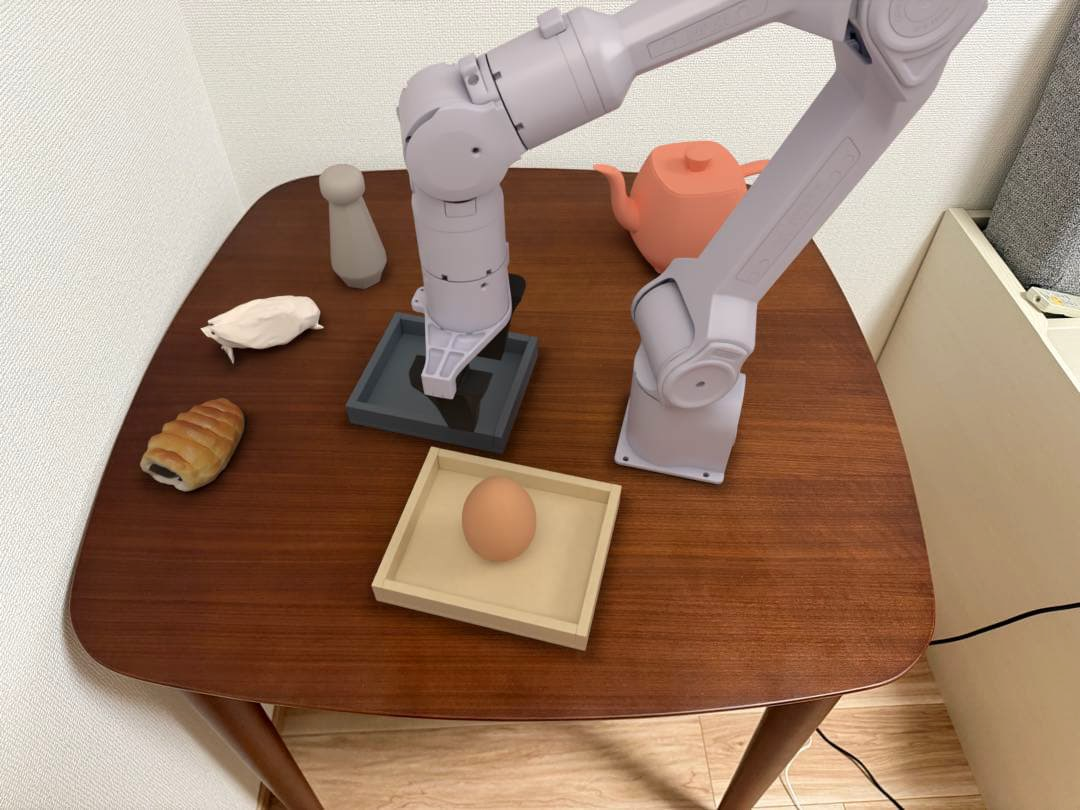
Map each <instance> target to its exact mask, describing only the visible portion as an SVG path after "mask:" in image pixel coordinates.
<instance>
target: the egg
mask: <svg viewBox="0 0 1080 810" xmlns="http://www.w3.org/2000/svg"><path fill="white" fill-rule="evenodd" d="M462 527H463V533H464V535H465V538H466V541H467V542H468V544H469V546H470V547H471V548H472V549H473V551H474V552H475V553H477V554H478V555H480V556H481V557H482V558H485V559H487V560H489V561H495V562H504V561H508V560H512V559H514V558H516V557H518V556H520V555H521V554H522V553H523V552H524V551H525V550H526V549H527V548H528V547H529V545H530V544H531V542H532V540H533V537H534V535H535V532H536V511H535V507H534V504H533V501H532V499H531V497H530V495H529V494H528V492H527V491H526V490H525V489H524V488H523V487H522V486H521V485H520V484H519V483H518V482H516V481H514V480H512V479H510V478H508V477H503V476H492V477H489V478H486V479H484V480H482V481H481V482H480V483H478V484H477V485H476V486H475V487H474V488H473V489H472V490H471V492H470V493H469V495H468V497H467V498H466V501H465V503H464V506H463V510H462Z"/></svg>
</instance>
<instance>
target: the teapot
mask: <svg viewBox="0 0 1080 810" xmlns="http://www.w3.org/2000/svg"><path fill="white" fill-rule="evenodd" d="M770 160H771V158H766V159H765V158H764V159H759V160H758V159H757V160H755V161H750V162H746V163H743V164H739V162H738V161H737V159H736V158H735V156H734V155H733V154H732V153H731V152H730V151H729V150H728V149H727V148H726V147H725V146H724V145H722V144H720V143H719V142H716V141H713V140H691V141H689V140H688V141H681V142H671V143H666V144H662V145H658V146H656V147H654V148H653V149H652V150H651V151H650V153H649V154H648V155H647V157H646V159H645V160H644V162H643V164H642V166H641V167H640V168H639V171H638V173H637V174H636V176H635V179H634V181H633V184H632V187H631V190H630V194H629V196H628V194H627V191H626V182H625V177H624V175H623V173H622V172H621V170H620V169H618V168H617V167H615V166H613V165H610V164H605V163H604V164H603V163H596V164H593V165H592V168H593V169H594V170H595V171H597V172H599V174H602V176H604V177H605V178H606V179H607V181H608V183H609V188H610V200H611V201H610V202H611V208H612V212H613V215H614V217H615V219H616V221H617V222H618V224H619V225H620V226H622V227H623V228H624V229H625V230H627V231H629V234H630V236H631V238H632V240H633V242H634V244H635V246H636V247H637V249H638V250H639V252H640V253H641V255H642V257H644V258H645V260H646V261H647V262H648V264H650V265H651V266H652V267H653V269H654V271H655V272H656V273H658V274H660V275H661V274H662V273H663V272H664V271H665V270H666V269H667V268H668V266H669V265H670V264H671V262H672V261H673V260H674V259H676V258H698V257H699V256H700V255H701V253H702V252H703V251H704V249H705V248H706V247H707V245H708V244H709V242H710V241H711V240H712V238H713V237H714V236H715V234H716V233H717V232H718V230H719V229H720V228H721V226H722V225H723V223H724V222H725V221H726V219H727V218H728V217H729V215H730V214H731V213H732V211H733V210H734V208H735V207H736V206H737V204H738V203H739V202H740V200H741V199H742V198H743V196H744V195H745V194H746V192H747V191H748V188H747V182H746V179H745V178H748V177H751V176H756V175H760V173H761V172H762V170H763V169H764V168H765V166H766V165H767V164H768V162H769V161H770Z"/></svg>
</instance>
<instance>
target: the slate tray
mask: <svg viewBox="0 0 1080 810" xmlns="http://www.w3.org/2000/svg"><path fill="white" fill-rule="evenodd" d="M416 355H422V356H426V338H425V316H420V315H416V314H409V313H403V312H398V311H395V312H394V314H393V316H392V318H391V320H390V322H389V324H388V325H387V327H386V329H385V331H384V333H383V335H382V336H381V339H380V340H379V343H378V344H377V346H376V348H375V349H374V351H373V353H372V355H371V357H370V359H369V361H368V362H367V364H366V367H364V370H363V372H362V374H361V376H360V377H359V379H358V381H357V383H356V385H355V387H354V389H353V391H352V392H351V395H350V396H349V398H348V399H347V402H346V403H345V411H346V414H347V416H348V420H349V423H350V424H353V425H356V426H357V425H358V426H362V427H367V428H371V429H377V430H382V431H387V432H391V433H397V434H400V435H407V436H412V437H415V438H420V439H427V440H430V441H436V442H440V443H446V444H450V445H455V446H460V447H464V448H470V449H474V450H479V451H484V452H489V453H493V454H499V455H503V454H504V452H505V450H506V447H507V444H508V441H509V438H510V436H511V433H512V430H513V427H514V424H515V422H516V419H517V416H518V413H519V410H520V408H521V404H522V402H523V399H524V396H525V395H526V394H525V393H526V392H527V391H526V390H527V387H528V385H529V383H530V379H531V376H532V374H533V371H534V369H535V367H536V363H537V360H538V358H539V337H537V336H532V335H527V334H521V333H516V332H511V331H509V333H508V338H507V343H506V348H505V351H504V354H503V356H502V359H501V361H500V360H495V359H489V358H483V357H477V355H476V356H475V357H474V358H473V359H472V360H471V361H470V362H469V363H468V364H470V369H474V370H480V371H485V372H491V373H493V376H492V378H491V381H490V384H489V386H488V389H487V391H486V393H485V394H484V396H483V398H482V399H481V402H480V413H479V419H478V423H477V425H476V428H475V430H474V432H472V433H471V432H466V431H460V430H455V429H450V428H449V427H448V425H447V424H446V422H445V420H444V419H443V417H442V415H441V413H440V412H439V410H438V409H437V407H436V406H435V405H434V404H433V402H432V401H431V400H430V399H429V398H427V397H426V396H425V395H424V394H422V393H421V392H420V391H418V390H416V389H415V388H413V387H412V386H411V383H410V379H409V370H410V368H411V366H412V364H413V361H414V359H415V357H416Z"/></svg>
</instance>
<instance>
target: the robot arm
mask: <svg viewBox="0 0 1080 810" xmlns="http://www.w3.org/2000/svg"><path fill="white" fill-rule="evenodd" d="M988 8H989V0H636V1H634V2H633V3H631V4H629V5H627V6H626V7H624V8H621V10H619V11H617V12H615V13H613V14H608V13H604V12H601V11H597V10H596V9H595V10H594V9H592V8H590V7H589V8H588V7H585V6H581V5H579V6H577V7H575V8H573V9H571V10H569V11H567V12H564V13H562V12H561V9H560V8H559V7H558V6H554V7H551V8H550V9H548V10H546V11H544V12H542V13H540V14H538V15H537V16H536V22H537V24H538V26H536V27H534V28H533V29H530V30H528V31H526V32H524V33H522V34H520V35H518V36H516V37H514V38H512V39H510V40H508V41H506V42H504V43H502V44H500V45H498V46H496V47H493V48H492V49H490V50H488V51H486V52H483V53H482V54H480V55H478V56H476V55H475V53H474V52H471V53H468V54H467V55H464V56H463V57H460V58H459V59H458V61H457V63H456V62H452V64H448V63H447V62H438V63H433V64H430V65H428V66H425V67H423V68H422V69H420V70H418V71H417V72H415V73H414V74H413V75H412V76H411V77H410V78H409V79H408V80H407V81H406V85H407V86H406V87H402V90H401V93H400V95H399V100H398V105H397V106H396V108H395V111H396V116H397V119H398V122H399V128H400V137H401V145H402V146H401V147H402V156H403V160H404V165H405V166H406V170H407V174H408V176H409V177H408V178H409V185H410V190H411V192H412V193H411V209H412V215H413V221H414V228H415V235H416V242H417V248H418V255H419V260H420V267H421V268H420V269H421V273H422V274H421V275H422V281H423V286H419V287H418V288H417V289H416V291H415V292H414V295H413V297H412V299H411V301H410V302H411V308H412V309H411V310H413V311H414V312H416V313H421V314H423V315H424V317H425V338H426V356H422V355H416V357H415V359H414V361H413V364H412V366H411V368H410V370H409V379H410V383H411V386H412V387H413V388H415V389H416V390H418V391H420V392H421V393H422V394H424V395H425V396H426V397H427V398H429V399H430V400H431V401H432V402H433V404H434V405H435V406H436V407H437V409H438V410H439V412H440V413H441V415H442V417H443V419H444V420H445V422H446V424H447V425H448V427H449V428H450V429H455V430H460V431H466V432H471V433H472V432H474V430H475V428H476V425H477V423H478V419H479V413H480V402H481V399H482V398H483V396H484V394H485V393H486V391H487V389H488V386H489V384H490V381H491V378H492V376H493V373H491V372H485V371H480V370H474V369H470V364H468V363H469V362H470V361H471V360H472V359H473V358H474V357H475V356H476V355H477V357H483V358H489V359H495V360H500V361H501V359H502V356H503V354H504V351H505V348H506V343H507V338H508V333H509V332H510V329H511V323H512V319H513V317H514V313H515V311H516V309H517V308H518V306H519V304H520V303H521V302H522V299H523V297H524V294H525V291H526V288H527V281H526V279H525V278H524V277H523V275H519V274H516V273H510V272H509V271H508V266H509V264H510V246H509V245H510V243H509V242H508V241H507V238H506V219H505V199H504V198H505V196H504V193H503V189H502V187H501V182H502V181H503V180H504V178H505V176H506V174H507V173H508V170H509V169H510V167H511V166H512V165H514V163H517V162H518V161H520V160H522V155H524V154H526V152H528V151H530V150H532V149H533V150H534V149H535V148H537V147H539V146H541V145H543V144H545V143H548V142H550V141H552V140H554V139H556V138H558V137H560V136H562V135H564V134H567V133H569V132H571V131H573V130H575V129H578V128H580V127H581V126H584V125H586V124H589V123H591V122H593V121H595V120H597V119H599V118H601V117H603V116H605V115H608V114H610V113H611V112H614V111H616V110H618V109H619V108H621V106H622V105H623V103H624V101H625V99H626V96H627V94H628V93H629V90H630V89H631V87H632V84H633V82H634V80H635V79H636V78H637V77H638V76H640V75H643V74H646V73H648V72H651V71H653V70H656V69H658V68H661V67H664V66H666V65H668V64H672V63H674V62H676V61H678V60H681V59H683V58H686V57H688V56H691V55H695V54H696V53H698V52H701V51H705V50H706V49H709V48H711V47H714V46H716V45H719V44H721V43H723V42H726V41H729V40H732V39H734V38H736V37H739V36H741V35H745V34H747V33H749V32H752V31H754V30H757V29H759V28H762V27H765V26H767V25H769V24H773V23H778V24H779V23H780V24H783V25H786V26H789V27H792V28H794V29H797V30H800V31H802V32H805V33H808V34H811V35H814V36H818V37H820V38H823V39H826V40H828V41H831V45H832V50H833V55H834V62H835V70H834V73H833V74H832V75H831V77H830V78H829V79H828V81H827V82H826V83H825V85H824V86H823V87H822V89H821V90H820V92H819V93H818V94H817V95H816V97H815V98H814V100H813V101H812V102H811V104H810V105H809V107H808V108H807V109H806V111H805V112H804V114H803V115H802V116H801V117H800V119H799V120H798V121H797V123H796V124H795V126H794V127H793V128H792V129H791V131H790V133H789V134H788V135H787V137H786V138H785V139H784V140H783V142H782V143H781V144H780V145H779V147H778V149H777V150H776V152H774V154H773V155H772V157H771V158H770V161H769V162H768V164H767V165H766V166H765V168H764V169H763V170H762V172H761V173H760V174H758V176H757V177H756V179H754V181H753V183H752V184H751V186H749V188H747V192H746V194H745V195H744V196H743V198H742V199H741V200H740V202H739V203H738V204H737V206H736V207H735V208H734V210H733V211H732V213H731V214H730V215H729V217H728V218H727V219H726V221H725V222H724V223H723V225H722V226H721V228H720V229H719V230H718V232H717V233H716V234H715V236H714V237H713V238H712V240H711V241H710V242H709V244H708V245H707V247H706V248H705V249H704V251H703V252H702V253H701V255H700V256H699V257H698V258H676V259H674V260H673V261H672V262H671V264H670V265H669V266H668V268H667V269H666V270H665V271H664V272H663V273H662V274H660V275H658V276H657V277H656V278H654V279H652V280H651V281H649V282H648V283H647V284H645V285H644V286H643V287H642V288H641V289H640V290H639V291H638V292H637V293H636V295H635V296H634V297H633V300H632V302H631V304H630V305H631V306H630V315H631V316H630V317H631V319H632V321H633V323H634V325H635V327H636V328H637V330H638V333H639V335H640V344H639V347H638V349H637V351H636V353H635V356H634V360H633V369H632V375H631V377H632V378H631V385H630V393H629V394H630V395H629V397H628V402H627V405H626V409H625V412H624V413H625V414H624V417H623V421H622V425H621V429H620V433H619V437H618V442H617V446H616V450H615V454H614V457H613V458H614V459H613V460H614V463H615V464H617V465H619V466H624V467H625V466H626V467H630V468H635V469H639V470H644V471H649V472H655V473H659V474H665V475H670V476H675V477H680V478H684V479H689V480H696V481H699V482H704V483H709V484H715V485H721V484H722V483H723V482H724V478H725V472H726V469H727V466H728V462H729V458H730V455H731V452H732V447H733V446H734V445H735V443H736V439H737V434H738V433H737V432H738V426H739V421H740V416H741V413H742V407H743V403H744V402H743V401H744V395H745V389H746V381H747V375H746V374H745V373H743V372H741V370H742V367H743V365H744V363H745V362H746V360H747V359H748V358H749V357H750V356H751V354H753V352H754V350H755V345H756V333H757V331H756V330H757V312H758V311H757V309H758V304H759V303H760V301H761V300H762V298H763V297H764V296H765V295H766V294H767V293H768V292H769V290H770V289H771V288H772V287H773V285H774V284H775V283H776V282H777V281H778V279H779V278H780V277H781V276H782V275H783V274H784V272H785V271H786V270H787V269H788V267H790V265H791V264H792V263H793V261H794V260H796V258H797V256H799V255H800V253H801V252H802V251H803V250H804V249H805V247H807V245H808V244H809V243H810V241H811V240H812V239H813V238H814V236H815V235H816V234H817V233H818V232H819V230H820V229H821V228H822V227H823V226H824V225H825V223H826V222H827V221H828V220H829V219H830V217H831V216H832V215H833V214H834V213H835V212H836V210H837V209H838V208H839V207H840V205H841V204H842V203H843V202H844V201H845V199H846V198H847V197H848V196H849V195H850V193H852V191H853V190H854V189H855V188H856V186H857V185H858V184H859V183H860V182H861V180H862V179H863V178H864V177H865V176H866V174H868V172H869V171H870V169H871V168H872V167H873V166H874V165H875V164H876V162H877V161H878V160H879V159H880V158H881V156H882V155H883V154H884V153H885V152H886V151H887V149H889V147H890V146H891V145H892V143H893V142H894V141H895V140H896V139H897V137H899V135H900V134H901V133H902V131H903V130H904V129H905V128H906V127H907V125H908V124H910V122H911V121H912V120H913V118H914V117H915V116H916V115H917V113H918V112H919V111H920V110H921V109H922V107H923V106H924V105H925V104H926V103H927V102H928V100H929V99H930V98H931V96H932V95H933V93H934V92H935V90H936V89H937V87H938V85H939V83H940V80H941V77H942V75H943V73H944V70H945V68H946V66H947V64H948V61H949V59H950V56H951V54H952V52H953V51H954V50H955V49H956V47H957V46H958V45H959V44H960V43H961V42H962V41H963V39H964V38H965V37H966V35H967V34H969V32H970V31H971V29H972V28H973V27H974V26H975V25H976V24H977V22H978V21H979V19H980V18H981V17H982V16H983V15H984V14H985V12H987V10H988Z"/></svg>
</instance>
